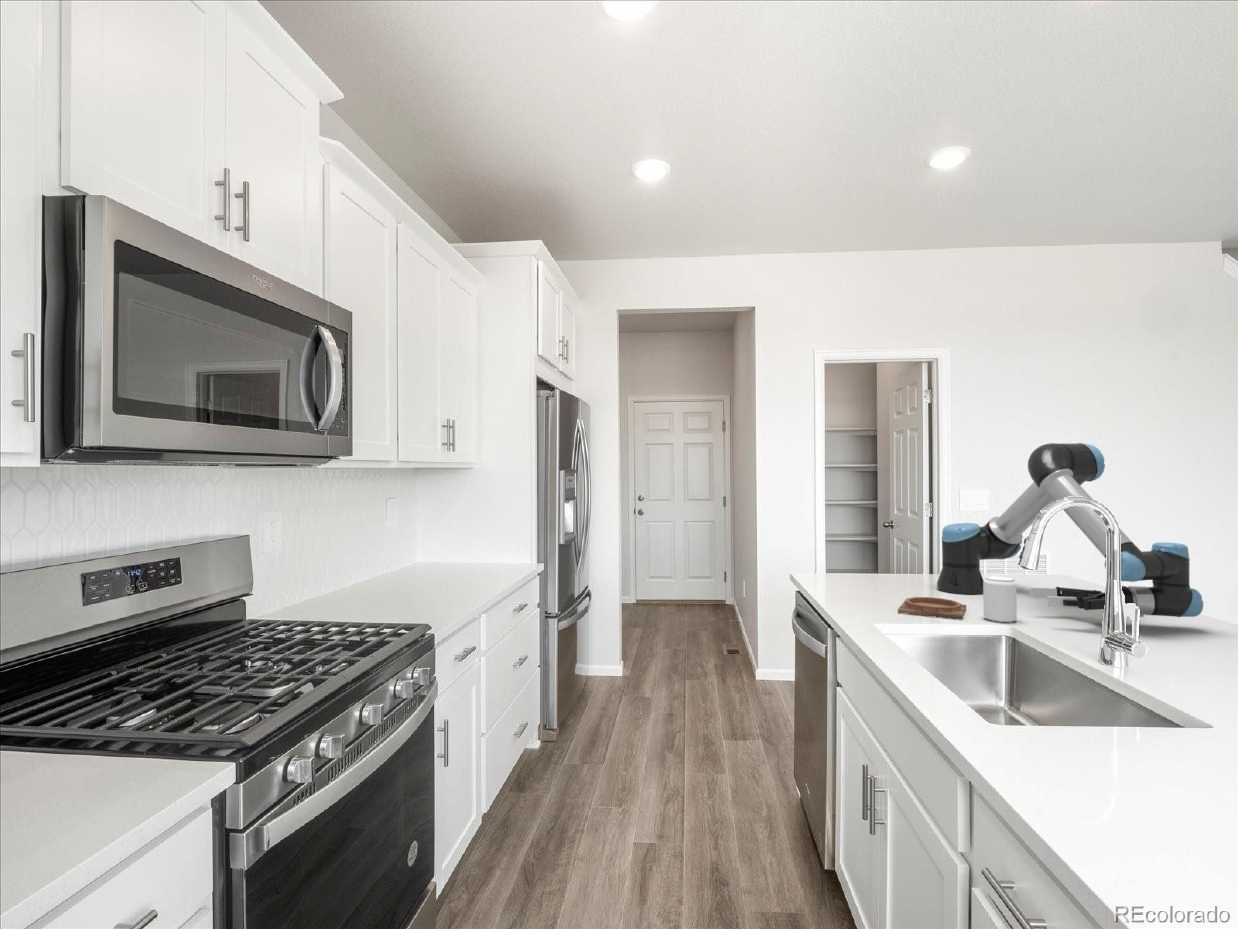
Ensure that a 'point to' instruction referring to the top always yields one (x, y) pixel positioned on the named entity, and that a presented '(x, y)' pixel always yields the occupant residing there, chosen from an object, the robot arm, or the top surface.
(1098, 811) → the top surface
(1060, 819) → the top surface
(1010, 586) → the beverage can
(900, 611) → the coaster board
